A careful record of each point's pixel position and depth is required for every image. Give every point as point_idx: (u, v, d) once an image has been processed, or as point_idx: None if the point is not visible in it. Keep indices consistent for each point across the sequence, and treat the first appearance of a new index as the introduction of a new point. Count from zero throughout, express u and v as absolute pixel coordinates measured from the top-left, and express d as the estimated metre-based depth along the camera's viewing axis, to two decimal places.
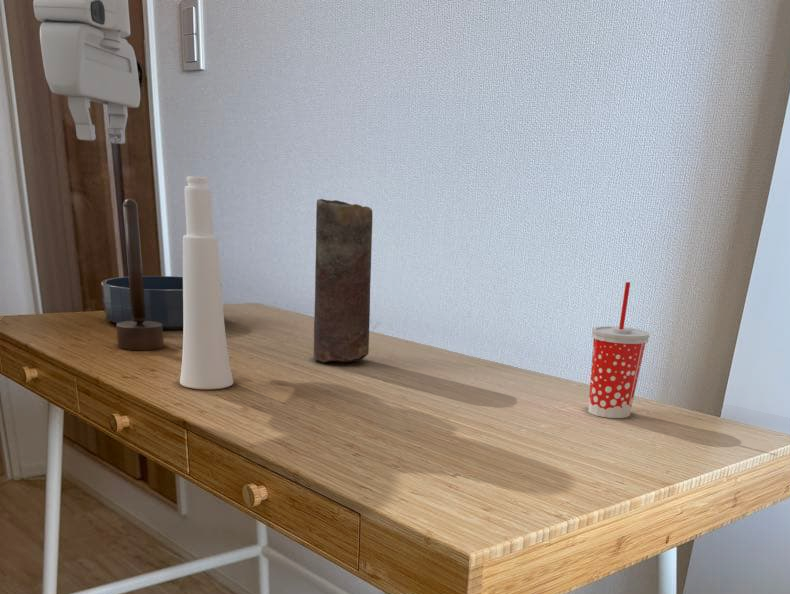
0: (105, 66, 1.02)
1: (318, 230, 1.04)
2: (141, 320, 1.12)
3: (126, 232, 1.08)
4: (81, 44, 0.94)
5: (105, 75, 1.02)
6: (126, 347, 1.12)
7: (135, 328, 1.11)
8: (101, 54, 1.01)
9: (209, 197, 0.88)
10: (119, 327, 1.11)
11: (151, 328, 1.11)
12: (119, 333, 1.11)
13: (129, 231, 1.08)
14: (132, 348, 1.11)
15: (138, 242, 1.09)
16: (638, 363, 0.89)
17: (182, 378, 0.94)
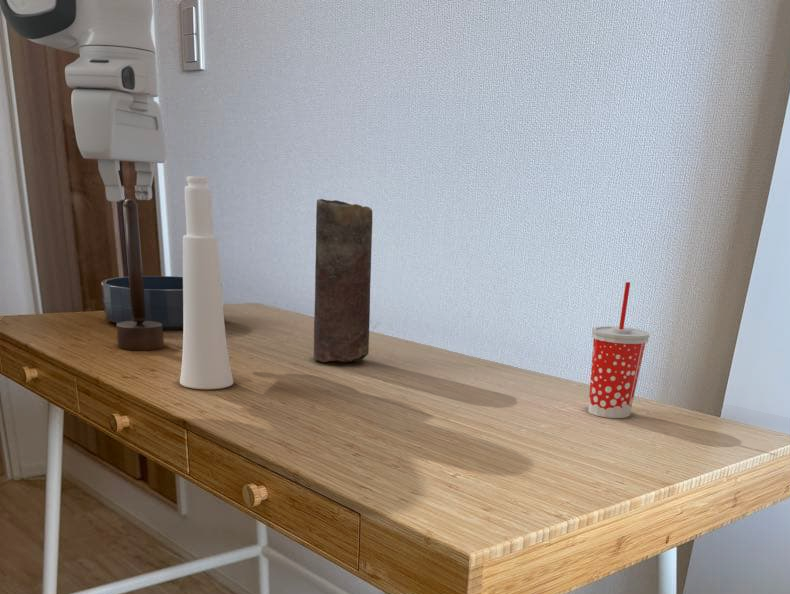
0: (134, 128, 1.02)
1: (318, 230, 1.04)
2: (141, 320, 1.12)
3: (126, 232, 1.08)
4: (112, 111, 0.95)
5: (134, 136, 1.02)
6: (126, 347, 1.12)
7: (135, 328, 1.11)
8: (130, 116, 1.02)
9: (209, 197, 0.88)
10: (119, 327, 1.11)
11: (151, 328, 1.11)
12: (119, 333, 1.11)
13: (129, 231, 1.08)
14: (132, 348, 1.11)
15: (138, 242, 1.09)
16: (638, 363, 0.89)
17: (182, 378, 0.94)
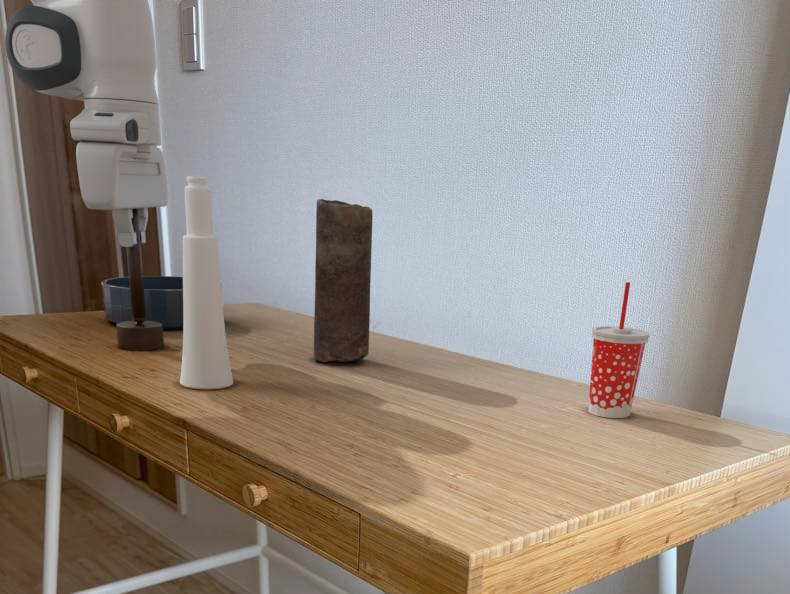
0: (137, 177, 1.04)
1: (318, 230, 1.04)
2: (141, 320, 1.12)
3: None
4: (116, 164, 0.97)
5: (137, 184, 1.05)
6: (126, 347, 1.12)
7: (135, 328, 1.11)
8: (134, 165, 1.04)
9: (209, 197, 0.88)
10: (119, 327, 1.11)
11: (151, 328, 1.11)
12: (119, 333, 1.11)
13: None
14: (132, 348, 1.11)
15: (138, 242, 1.09)
16: (638, 363, 0.89)
17: (182, 378, 0.94)
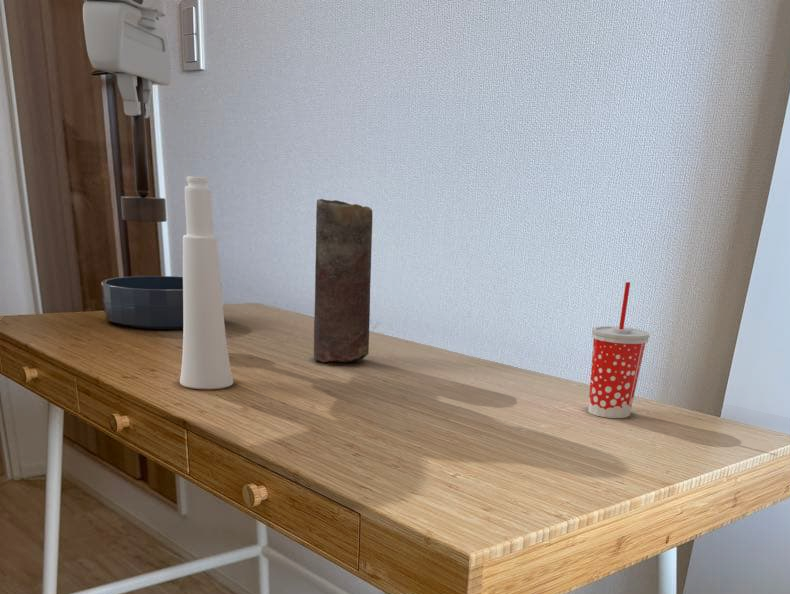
0: (142, 44, 1.08)
1: (318, 230, 1.04)
2: (145, 193, 1.16)
3: None
4: (121, 22, 1.00)
5: (142, 52, 1.08)
6: (130, 218, 1.15)
7: (139, 198, 1.14)
8: (138, 33, 1.07)
9: (209, 197, 0.88)
10: (123, 198, 1.14)
11: (154, 199, 1.15)
12: (124, 204, 1.15)
13: None
14: (136, 219, 1.15)
15: (142, 113, 1.12)
16: (638, 363, 0.89)
17: (182, 378, 0.94)
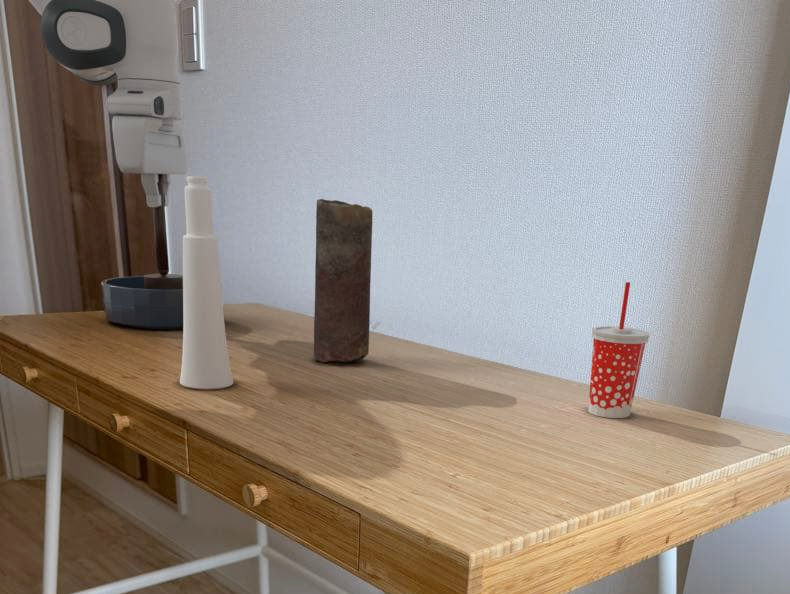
0: (162, 146, 1.22)
1: (318, 230, 1.04)
2: (165, 272, 1.30)
3: None
4: (146, 133, 1.15)
5: (162, 153, 1.22)
6: None
7: (160, 278, 1.28)
8: (159, 137, 1.22)
9: (209, 197, 0.88)
10: (146, 278, 1.29)
11: (174, 278, 1.29)
12: (147, 283, 1.29)
13: None
14: None
15: (163, 203, 1.26)
16: (638, 363, 0.89)
17: (182, 378, 0.94)
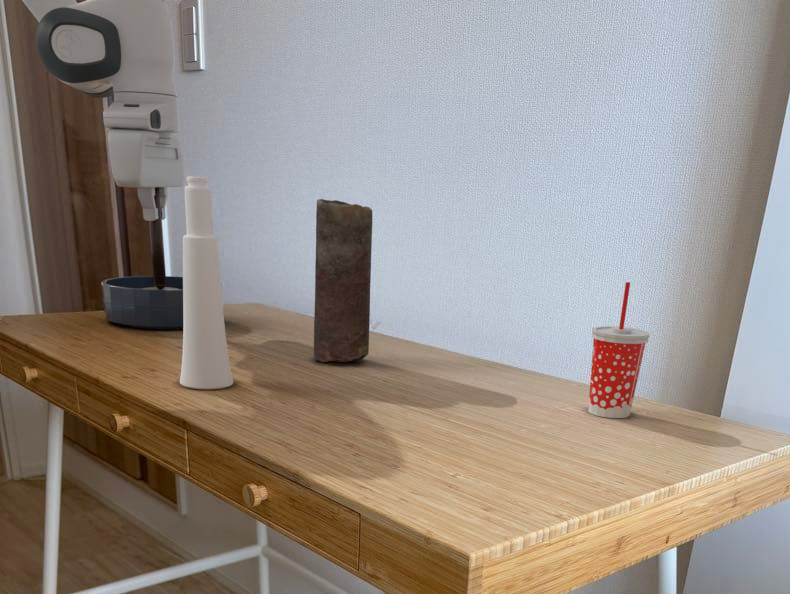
0: (159, 160, 1.21)
1: (318, 230, 1.04)
2: (162, 286, 1.29)
3: None
4: (142, 147, 1.13)
5: (159, 166, 1.21)
6: None
7: None
8: (156, 150, 1.20)
9: (209, 197, 0.88)
10: None
11: None
12: None
13: None
14: None
15: (160, 217, 1.25)
16: (638, 363, 0.89)
17: (182, 378, 0.94)
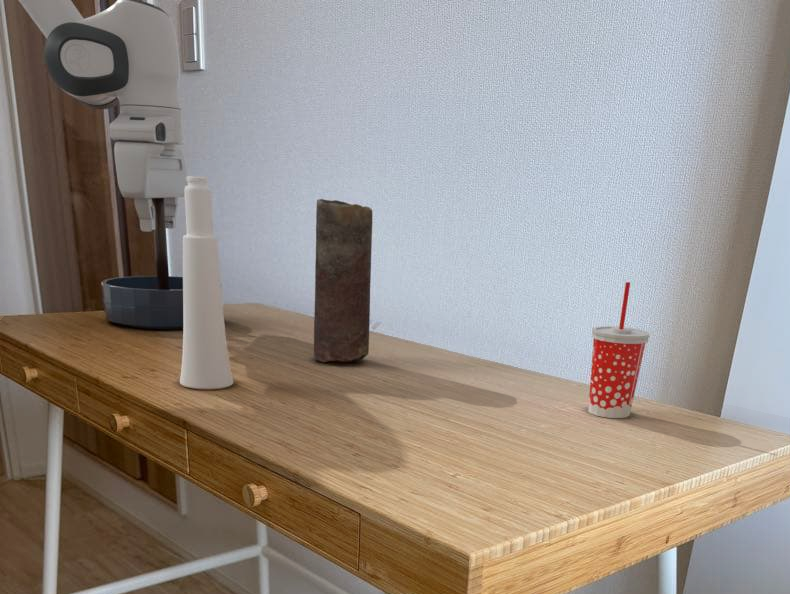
0: (163, 171, 1.24)
1: (318, 230, 1.04)
2: None
3: None
4: (148, 159, 1.16)
5: (163, 177, 1.24)
6: None
7: None
8: (161, 161, 1.23)
9: (209, 197, 0.88)
10: None
11: None
12: None
13: (157, 218, 1.27)
14: None
15: (164, 228, 1.28)
16: (638, 363, 0.89)
17: (182, 378, 0.94)
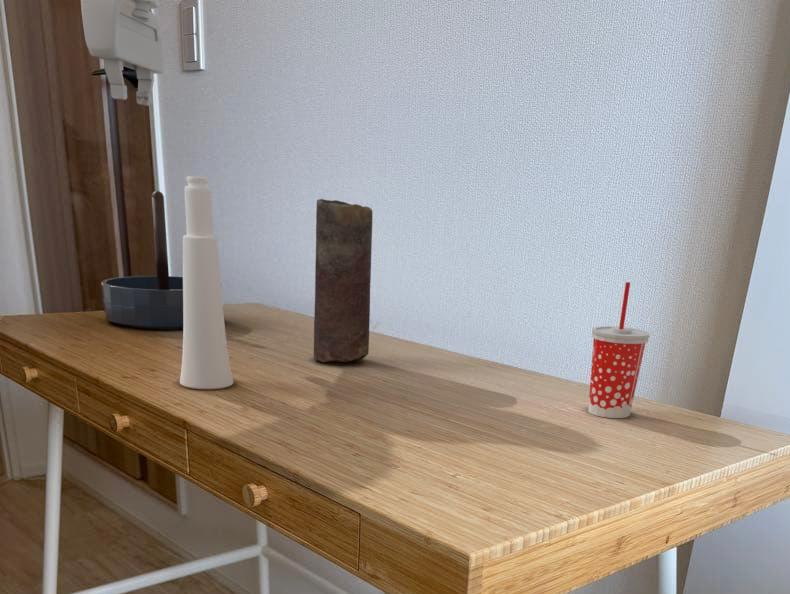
0: (136, 34, 1.15)
1: (318, 230, 1.04)
2: None
3: (154, 219, 1.27)
4: (117, 12, 1.07)
5: (136, 41, 1.15)
6: None
7: None
8: (133, 23, 1.14)
9: (209, 197, 0.88)
10: None
11: None
12: None
13: (157, 218, 1.27)
14: None
15: (164, 228, 1.28)
16: (638, 363, 0.89)
17: (182, 378, 0.94)
